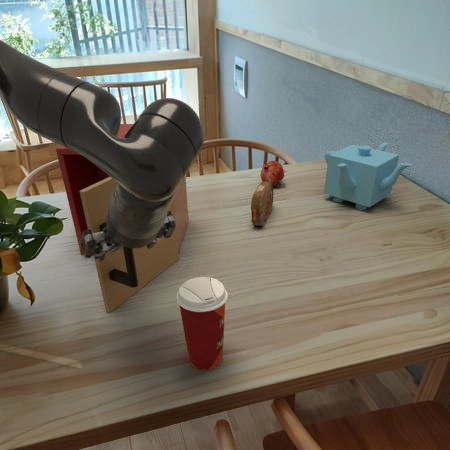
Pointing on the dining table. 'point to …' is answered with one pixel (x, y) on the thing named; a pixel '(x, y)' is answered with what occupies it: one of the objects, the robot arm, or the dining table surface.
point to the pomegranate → (272, 173)
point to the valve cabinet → (90, 174)
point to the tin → (262, 203)
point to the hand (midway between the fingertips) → (123, 249)
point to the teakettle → (361, 174)
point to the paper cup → (203, 320)
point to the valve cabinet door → (124, 250)
